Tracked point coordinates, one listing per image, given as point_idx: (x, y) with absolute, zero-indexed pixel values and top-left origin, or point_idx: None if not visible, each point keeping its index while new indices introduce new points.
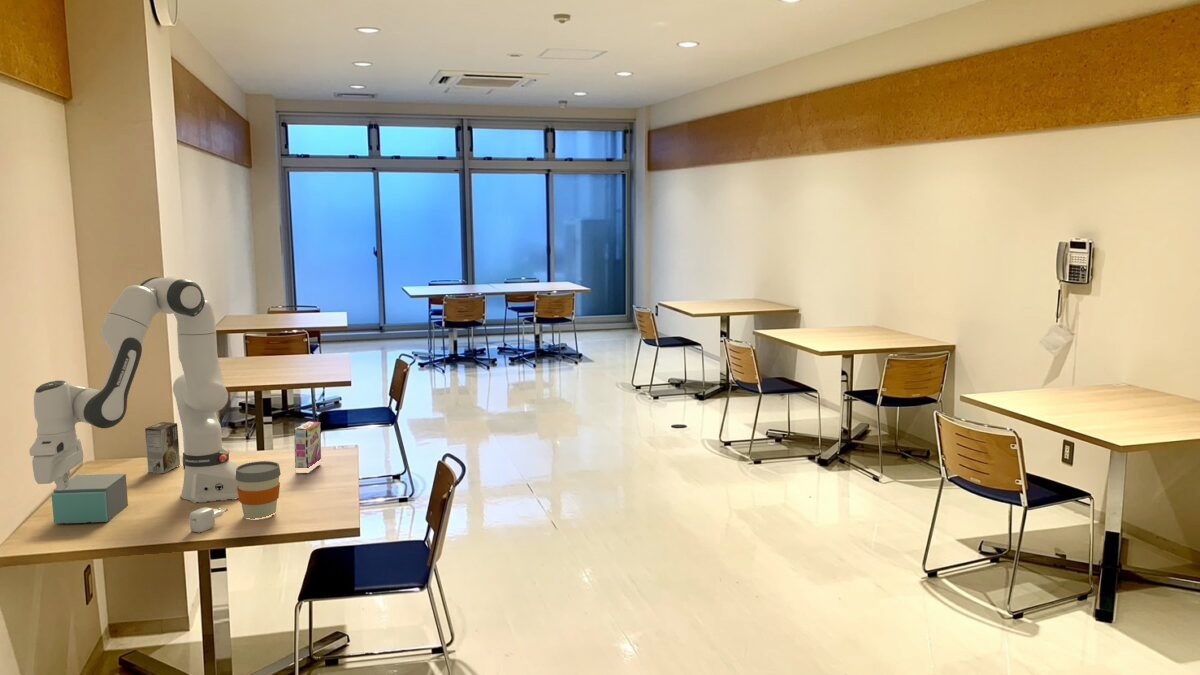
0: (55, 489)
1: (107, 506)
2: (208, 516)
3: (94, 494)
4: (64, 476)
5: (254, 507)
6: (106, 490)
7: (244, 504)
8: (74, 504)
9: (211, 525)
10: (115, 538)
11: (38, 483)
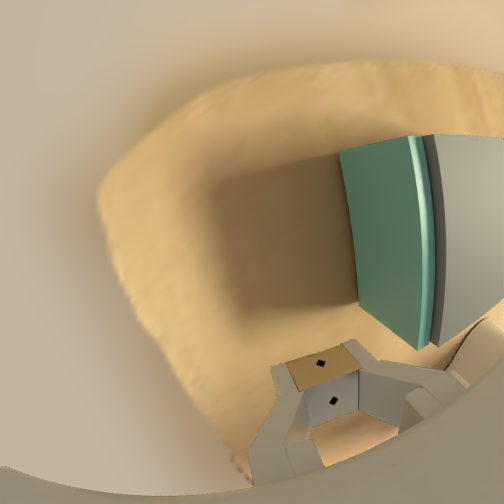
0: (439, 137)
1: None
2: None
3: (416, 317)
4: (397, 407)
5: None
6: (433, 343)
7: None
8: (389, 229)
9: None
10: (252, 395)
11: (2, 473)
